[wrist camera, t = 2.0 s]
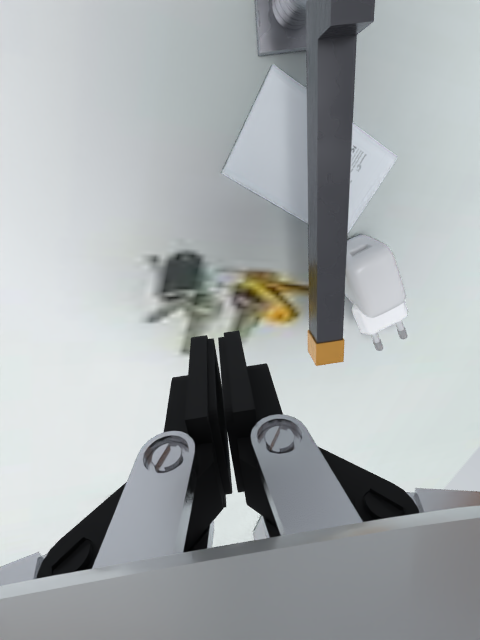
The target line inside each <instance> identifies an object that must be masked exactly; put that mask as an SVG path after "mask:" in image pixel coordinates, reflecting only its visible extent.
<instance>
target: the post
mask: <svg viewBox="0 0 480 640" xmlns="http://www.w3.org/2000/svg"><path fill="white" fill-rule="evenodd" d="M306 2H307V0H255V13H256V28H257V43H258V56H261V55H270V54H279V53H288V52H297V51H306Z"/></svg>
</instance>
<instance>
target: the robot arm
mask: <svg viewBox="0 0 480 640" xmlns="http://www.w3.org/2000/svg"><path fill="white" fill-rule="evenodd" d="M218 340H219V353H220V366H221V378H220V373H219V367H218V361H217V355H216V349H215V343H214V339H208V337H207V335H206V336H199V337H192V338H191V346H190V359H189V372H188V375H187V376H180V377H173V378H172V381H171V388H170V395H169V401H168V408H167V414H166V421H165V428H164V433H161V434H159V435H156V436H155V437H153V438H152V439H150V440H148V441H147V443H146V444H145V445H144V446H143V447H142V448H141V450H140V452H139V453H138V455H137V458H136V460H135V463H134V465H133V468H132V470H131V473H130V475H129V478H128V480H127V482H126V483H125V484H124V485H123V486H121V487H120V488H119V489H118V490H117V491H116V492H115V493H113V494H112V495H111V496H110V497H109V498H108V499H106V500H105V501H104V502H103V503H102V504H101V505H99V506H98V507H97V508H96V509H95V510H94V511H93V512H91V513H90V514H89V515H88V516H87V517H86V518H84V519H83V520H82V521H81V522H80V523H79V524H78V525H76V526H75V527H74V528H73V529H72V530H71V531H69V532H68V533H67V534H66V535H65V536H64V537H62V538H61V539H60V540H59V541H58V542H57V543H56V544H55V545H54V546H53V547H52V548H51V549H50V551H49V552H48V554H46V555H43V556H41V554H40V553H39V552H37V553H34V554H32V555H29V556H27V557H24V558H22V559H19V560H17V561H14V562H11V563H9V564H6V565H4V566H1V567H0V640H480V492H477V491H458V490H442V489H424V488H415V493H410V492H405V491H404V490H403V489H401V488H399V487H398V486H396V485H395V484H393V483H391V482H389V481H387V480H385V479H383V478H381V477H379V476H377V475H375V474H373V473H371V472H369V471H367V470H365V469H363V468H360V467H358V466H356V465H354V464H352V463H350V462H348V461H346V460H344V459H342V458H340V457H338V456H336V455H334V454H332V453H330V452H328V451H326V450H324V449H322V448H320V447H318V446H317V445H316V443H315V442H314V440H313V438H312V437H311V435H310V433H309V432H308V430H307V428H306V427H305V426H304V425H303V423H302V422H301V421H299V420H298V419H296V418H294V417H291V416H288V415H283V413H282V410H281V407H280V404H279V401H278V397H277V394H276V391H275V388H274V384H273V381H272V378H271V375H270V372H269V368H268V365H267V364H260V365H253V366H247V367H246V362H245V357H244V352H243V347H242V342H241V338H240V333H239V331H233V332H226V333H224V337H220V338H218ZM221 379H222V384H221ZM227 432H228V436H227ZM228 438H229V444H230V450H231V455H232V461H233V467H234V472H235V478H236V484H237V490H238V492H244V491H245V497H246V503H247V505H248V506H250V507H251V508H252V509H254V510H255V511H257V512H258V513H259V514H261V518H262V523H263V526H264V530H265V533H266V536H267V538H266V539H260V540H254V541H248V542H242V543H236V544H231V545H225V546H219V547H213V548H212V544H213V535H214V521H213V520H214V519H215V518H216V517H217V515H218V514H219V513H220V512H221V511H222V509H223V508H224V507H226V494H232V483H231V471H230V459H229V447H228Z"/></svg>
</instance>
